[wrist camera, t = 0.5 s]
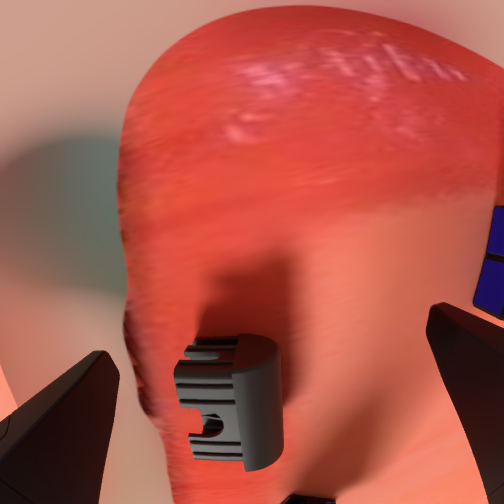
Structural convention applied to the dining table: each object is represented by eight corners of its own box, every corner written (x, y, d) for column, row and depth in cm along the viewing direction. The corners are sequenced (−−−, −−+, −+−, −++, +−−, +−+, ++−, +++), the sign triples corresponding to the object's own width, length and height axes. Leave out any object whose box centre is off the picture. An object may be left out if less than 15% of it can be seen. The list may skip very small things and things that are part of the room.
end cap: (282, 421, 25) (285, 471, 18) (208, 423, 25) (194, 470, 19) (278, 327, 24) (281, 368, 17) (192, 331, 24) (168, 369, 17)
